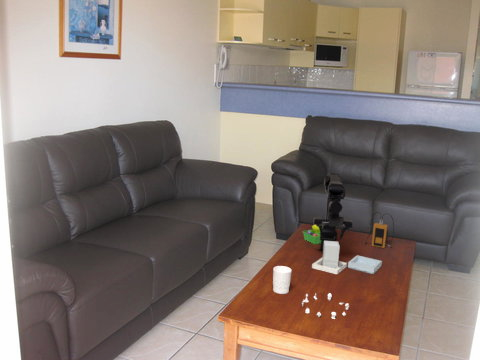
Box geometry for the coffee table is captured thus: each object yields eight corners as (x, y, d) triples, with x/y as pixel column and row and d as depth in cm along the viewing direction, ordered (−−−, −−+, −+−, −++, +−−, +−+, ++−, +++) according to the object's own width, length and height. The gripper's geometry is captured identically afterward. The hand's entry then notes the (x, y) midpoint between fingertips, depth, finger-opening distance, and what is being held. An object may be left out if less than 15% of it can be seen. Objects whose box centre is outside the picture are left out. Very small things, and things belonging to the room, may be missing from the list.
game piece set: (315, 294, 229) (316, 286, 228) (357, 309, 217) (358, 300, 216) (290, 308, 214) (291, 299, 213) (334, 325, 202) (334, 315, 201)
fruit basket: (301, 239, 303) (302, 220, 301) (313, 237, 308) (315, 219, 305) (313, 245, 294) (315, 225, 291) (325, 243, 298) (327, 224, 296)
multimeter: (393, 244, 303) (398, 211, 299) (391, 249, 294) (395, 215, 290) (368, 240, 309) (371, 207, 305) (364, 244, 300) (368, 210, 296)
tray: (347, 267, 262) (348, 262, 261) (356, 260, 273) (357, 255, 272) (373, 274, 256) (374, 268, 255) (381, 266, 267) (382, 260, 266)
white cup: (291, 289, 232) (293, 267, 230) (287, 296, 225) (289, 273, 223) (274, 286, 235) (276, 264, 233) (269, 292, 227) (271, 270, 225)
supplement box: (336, 265, 265) (338, 241, 262) (337, 270, 257) (340, 246, 255) (321, 264, 265) (323, 240, 263) (322, 269, 258) (324, 244, 255)
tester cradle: (311, 268, 259) (312, 263, 258) (322, 260, 270) (322, 255, 269) (337, 274, 253) (337, 269, 252) (346, 266, 263) (347, 261, 263)
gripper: (315, 210, 253) (313, 242, 256) (355, 213, 252) (351, 245, 255) (314, 205, 264) (312, 235, 267) (352, 208, 262) (349, 238, 265)
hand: (331, 238), depth 263 cm, fingers open, 9 cm apart
